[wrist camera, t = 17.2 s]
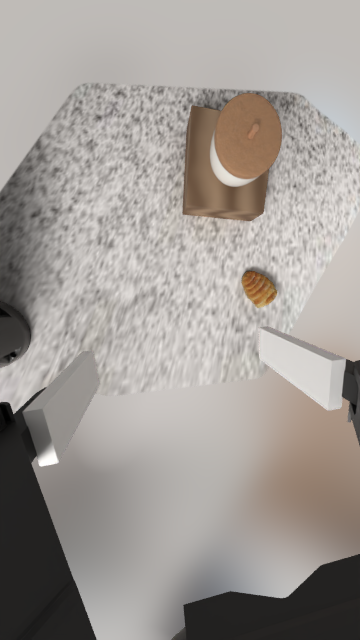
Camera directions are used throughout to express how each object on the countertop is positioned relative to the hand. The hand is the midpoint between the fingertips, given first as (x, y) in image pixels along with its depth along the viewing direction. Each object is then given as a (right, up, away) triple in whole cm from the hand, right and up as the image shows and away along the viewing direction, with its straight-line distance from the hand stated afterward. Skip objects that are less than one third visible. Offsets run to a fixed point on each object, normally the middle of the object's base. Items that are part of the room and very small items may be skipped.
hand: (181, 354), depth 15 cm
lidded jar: (+9, +32, +22) cm, 40 cm away
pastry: (+19, +10, +33) cm, 40 cm away
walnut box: (+9, +34, +27) cm, 44 cm away
